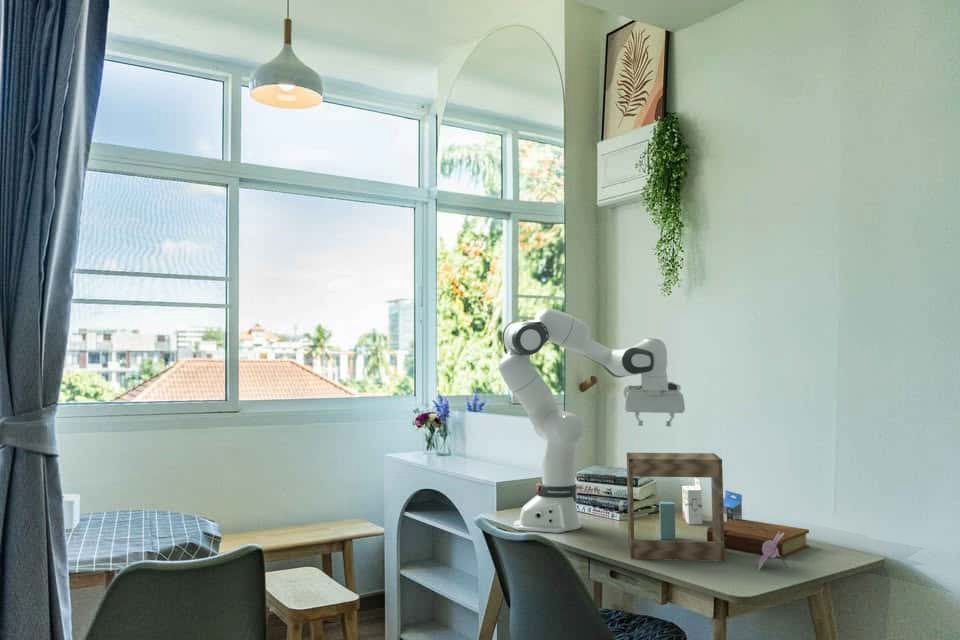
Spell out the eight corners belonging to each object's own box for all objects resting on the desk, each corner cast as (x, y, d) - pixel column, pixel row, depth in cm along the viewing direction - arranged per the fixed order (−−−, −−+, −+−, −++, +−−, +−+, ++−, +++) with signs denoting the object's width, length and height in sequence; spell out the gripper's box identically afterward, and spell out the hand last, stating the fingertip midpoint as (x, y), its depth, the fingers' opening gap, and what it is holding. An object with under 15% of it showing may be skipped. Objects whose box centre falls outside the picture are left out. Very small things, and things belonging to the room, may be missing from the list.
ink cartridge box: (681, 519, 266) (681, 476, 267) (696, 519, 266) (695, 476, 267) (688, 524, 258) (687, 480, 258) (702, 524, 258) (701, 480, 258)
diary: (707, 547, 230) (706, 527, 230) (737, 536, 243) (736, 518, 243) (782, 560, 213) (781, 539, 214) (809, 548, 226) (808, 528, 227)
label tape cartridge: (716, 528, 252) (715, 490, 252) (726, 527, 253) (725, 490, 254) (733, 534, 243) (732, 495, 244) (743, 533, 245) (742, 494, 245)
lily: (768, 563, 213) (750, 533, 214) (807, 552, 206) (789, 521, 207) (758, 586, 204) (739, 555, 204) (799, 577, 197) (779, 544, 197)
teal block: (660, 539, 237) (660, 503, 238) (660, 536, 241) (659, 501, 242) (675, 539, 237) (674, 504, 237) (674, 537, 240) (673, 501, 241)
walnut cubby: (630, 558, 215) (629, 458, 217) (628, 546, 229) (626, 452, 231) (724, 561, 212) (722, 459, 213) (716, 548, 226) (714, 453, 227)
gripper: (623, 384, 262) (623, 425, 261) (685, 385, 259) (685, 427, 257) (623, 385, 268) (623, 425, 267) (683, 386, 265) (683, 426, 263)
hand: (654, 426), depth 262 cm, fingers open, 8 cm apart
